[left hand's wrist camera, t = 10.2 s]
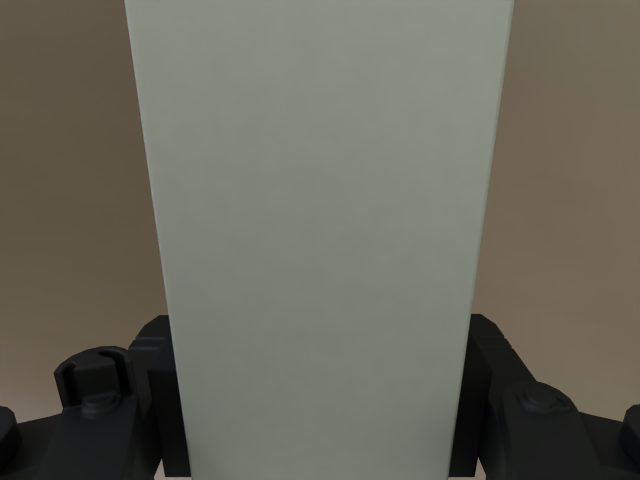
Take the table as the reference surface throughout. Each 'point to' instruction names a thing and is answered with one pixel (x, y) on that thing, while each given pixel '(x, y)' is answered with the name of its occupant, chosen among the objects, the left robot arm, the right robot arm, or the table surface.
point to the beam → (319, 223)
